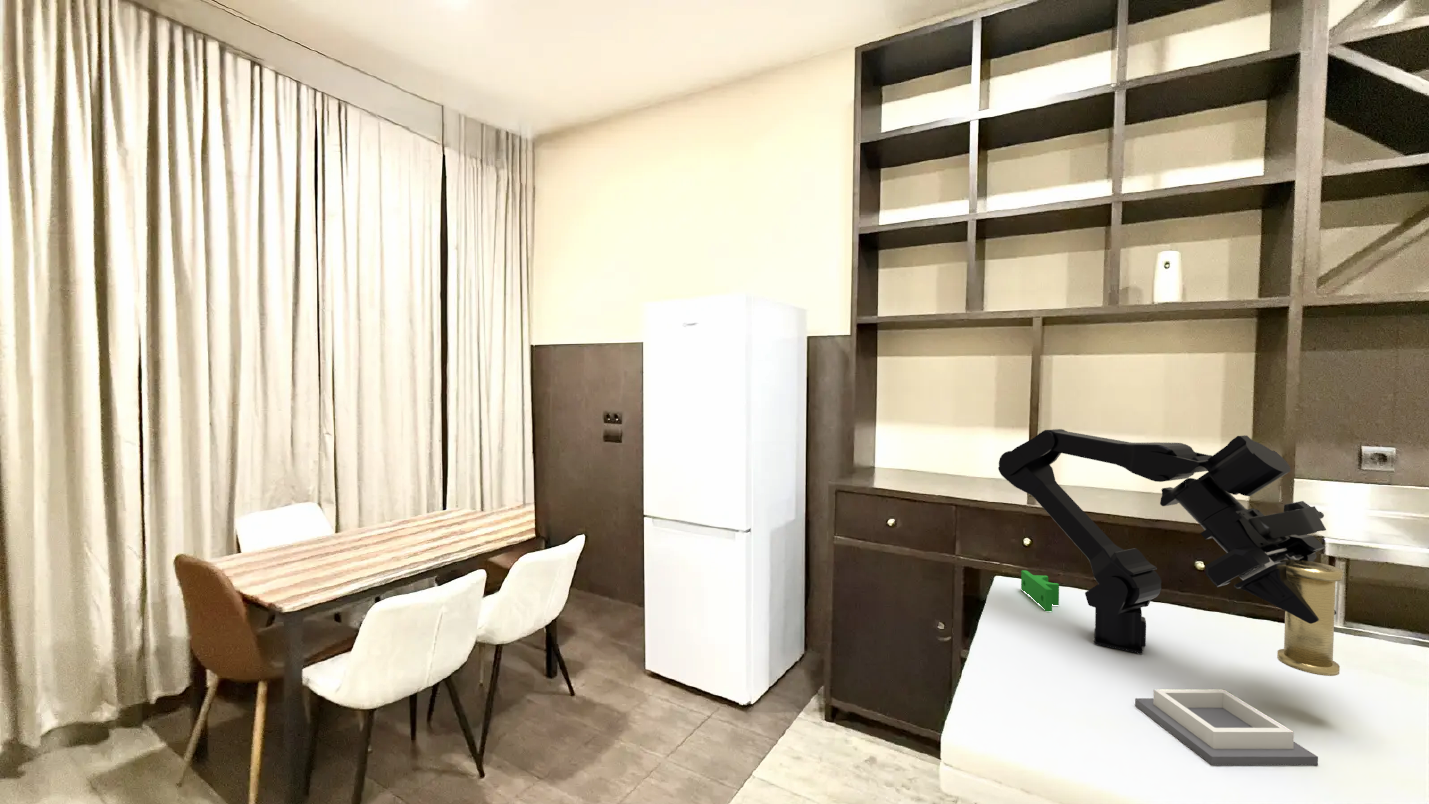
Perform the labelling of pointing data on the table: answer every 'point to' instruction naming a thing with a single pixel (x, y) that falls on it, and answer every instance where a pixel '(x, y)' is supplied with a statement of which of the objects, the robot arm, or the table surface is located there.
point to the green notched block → (1040, 589)
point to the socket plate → (1224, 728)
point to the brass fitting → (1313, 641)
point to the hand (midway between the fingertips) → (1324, 618)
